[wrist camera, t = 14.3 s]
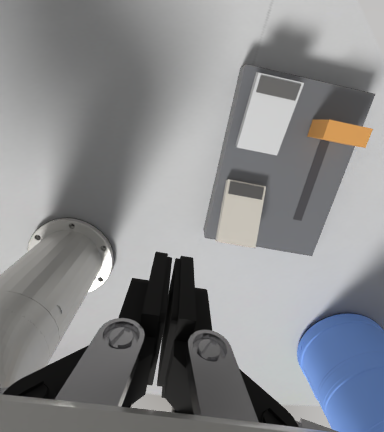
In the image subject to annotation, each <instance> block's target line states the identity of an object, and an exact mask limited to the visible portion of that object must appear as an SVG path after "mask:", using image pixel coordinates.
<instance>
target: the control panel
mask: <svg viewBox="0 0 384 432" xmlns="http://www.w3.org/2000/svg"><path fill="white" fill-rule="evenodd" d="M256 72H259V73H263V74H268V75H272V76H277V77H281V78H285V79H290V80H294V81H298V82H302V83H304V85H303V88H302V91H301V93H300V96H299V98H298V101H297V104H296V106H295V109H294V112H293V114H292V117H291V120H290V122H289V125H288V128H287V130H286V133H285V136H284V138H283V141H282V144H281V146H280V149H279V152H278V154H277V156H276V155H271V154H267V153H262V152H257V151H252V150H247V149H242V148H237V147H236V141H237V138H238V134H239V131H240V127H241V124H242V120H243V117H244V113H245V110H246V106H247V103H248V99H249V96H250V92H251V89H252V85H253V82H254V78H255V75H256ZM374 96H375V94H373V93H369V92H365V91H360V90H356V89H352V88H347V87H343V86H339V85H334V84H330V83H326V82H321V81H317V80H313V79H308V78H304V77H300V76H295V75H291V74H287V73H282V72H278V71H274V70H269V69H265V68H261V67H256V66H252V65H248V64H245V65H244V66H243V67H242V68H240V72H239V76H238V81H237V85H236V90H235V94H234V98H233V103H232V107H231V111H230V116H229V120H228V125H227V129H226V133H225V138H224V142H223V146H222V151H221V155H220V160H219V164H218V168H217V173H216V177H215V182H214V186H213V190H212V195H211V199H210V203H209V208H208V212H207V217H206V221H205V225H204V235H205V238H209V239H215V240H216V235H217V229H218V224H219V218H220V212H221V207H222V201H223V195H224V190H225V184H226V180H228V179H230V180H235V181H241V182H246V183H251V184H256V185H261V186H266V190H265V196H264V202H263V208H262V213H261V219H260V225H259V231H258V236H257V242H256V247H262V248H268V249H273V250H279V251H285V252H291V253H297V254H303V255H309V256H312V255H313V252H314V250H315V247H316V244H317V242H318V239H319V237H320V234H321V232H322V229H323V227H324V224H325V221H326V219H327V216H328V214H329V211H330V209H331V206H332V204H333V201H334V198H335V196H336V193H337V191H338V188H339V186H340V183H341V180H342V178H343V175H344V173H345V170H346V168H347V165H348V163H349V160H350V157H351V155H352V152H353V150H354V147H355V146H352V145H345V144H340V143H336V142H331V141H326V140H321V139H317V138H312V137H307V135H308V132H309V129H310V126H311V123H312V120H334V121H339V122H343V123H348V124H352V125H357V126H361V127H363V124H364V122H365V119H366V116H367V114H368V111H369V109H370V106H371V104H372V101H373V99H374Z"/></svg>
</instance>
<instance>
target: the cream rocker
mask: <svg viewBox="0 0 384 432" xmlns="http://www.w3.org/2000/svg"><path fill="white" fill-rule="evenodd" d="M265 190H266V186H261V185H256V184H251V183H246V182H241V181H235V180H230V179H228V180H226V184H225V190H224V195H223V201H222V207H221V212H220V218H219V224H218V229H217V235H216V241H217V242H221V243H227V244H233V245H239V246H245V247H251V248H256V242H257V236H258V231H259V225H260V219H261V213H262V208H263V202H264V196H265Z"/></svg>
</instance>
